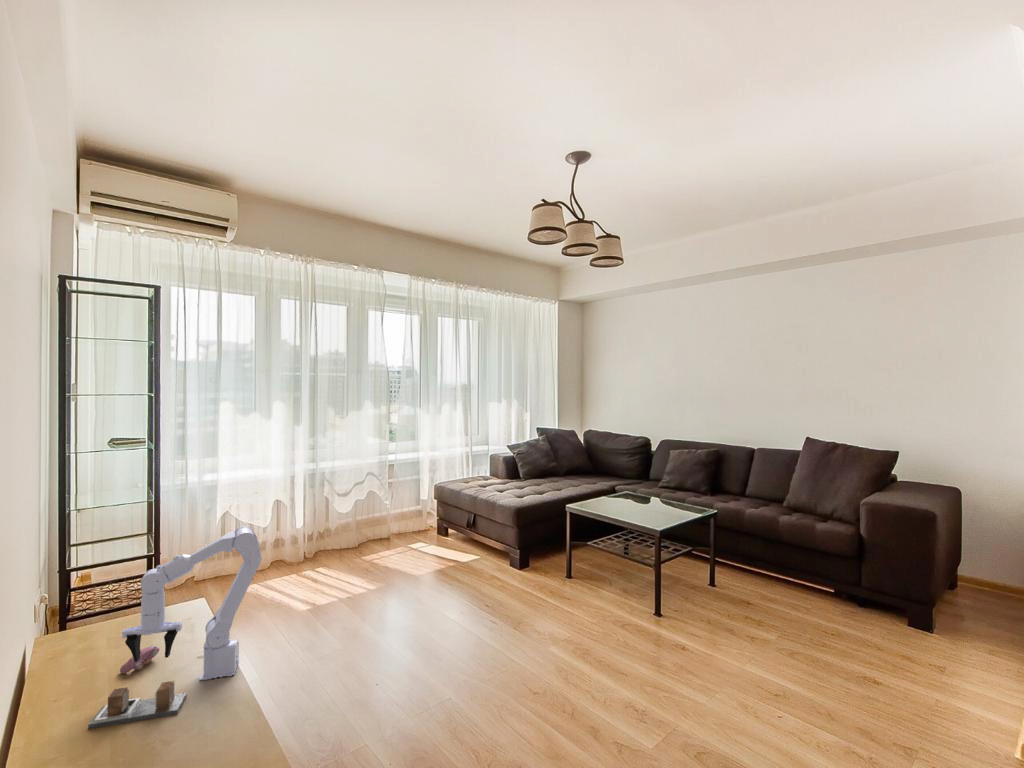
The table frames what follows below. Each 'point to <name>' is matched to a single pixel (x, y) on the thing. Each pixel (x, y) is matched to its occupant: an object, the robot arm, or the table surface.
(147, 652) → the video game controller
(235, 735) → the table surface
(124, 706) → the wooden block
